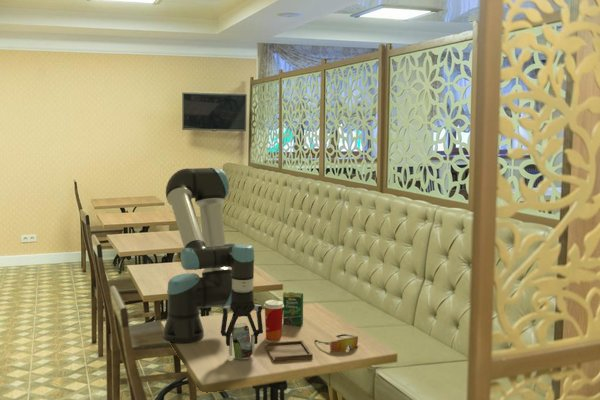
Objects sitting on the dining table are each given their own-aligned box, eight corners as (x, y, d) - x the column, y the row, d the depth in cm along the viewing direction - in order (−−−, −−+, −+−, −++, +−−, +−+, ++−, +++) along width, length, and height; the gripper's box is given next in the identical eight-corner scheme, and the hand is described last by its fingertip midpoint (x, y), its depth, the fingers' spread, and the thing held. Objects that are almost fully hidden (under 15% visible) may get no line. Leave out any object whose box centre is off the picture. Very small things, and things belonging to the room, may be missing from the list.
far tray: (265, 347, 238) (265, 342, 238) (302, 345, 241) (302, 340, 241) (273, 362, 224) (273, 357, 224) (312, 359, 228) (312, 354, 228)
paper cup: (268, 333, 253) (268, 298, 251) (286, 336, 250) (287, 301, 248) (259, 339, 245) (260, 303, 243) (278, 343, 243) (279, 306, 241)
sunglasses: (334, 355, 233) (333, 341, 233) (310, 347, 245) (309, 334, 245) (364, 348, 241) (364, 334, 240) (340, 341, 253) (339, 328, 253)
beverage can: (249, 362, 224) (249, 328, 222) (228, 360, 225) (229, 326, 224) (254, 355, 230) (254, 322, 228) (234, 353, 231) (234, 320, 230)
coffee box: (281, 324, 264) (282, 292, 262) (284, 322, 267) (285, 290, 265) (300, 326, 261) (301, 295, 259) (303, 324, 264) (304, 293, 262)
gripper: (214, 294, 218) (214, 359, 221) (273, 291, 223) (272, 355, 226) (211, 287, 225) (211, 351, 229) (268, 285, 230) (267, 347, 234)
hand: (241, 353), depth 227 cm, fingers closed on beverage can, 7 cm apart
